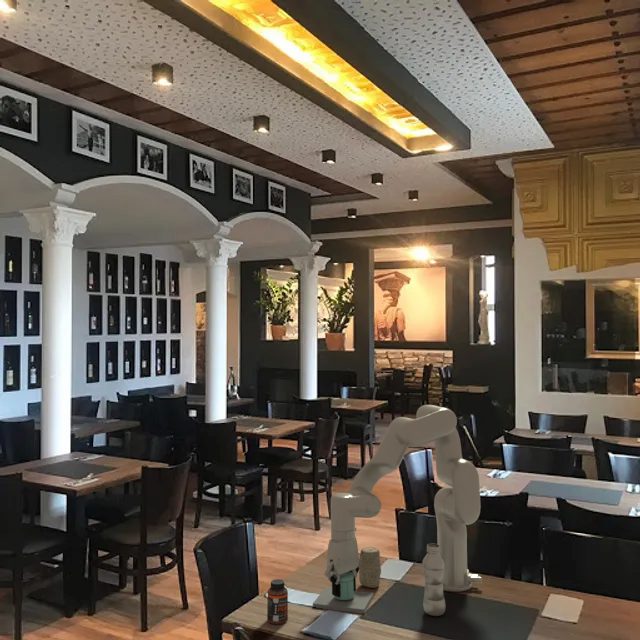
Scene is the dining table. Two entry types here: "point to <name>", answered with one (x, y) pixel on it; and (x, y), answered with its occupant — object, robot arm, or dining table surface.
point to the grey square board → (344, 601)
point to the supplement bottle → (277, 602)
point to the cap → (346, 586)
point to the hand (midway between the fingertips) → (344, 592)
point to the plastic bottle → (433, 581)
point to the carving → (370, 567)
